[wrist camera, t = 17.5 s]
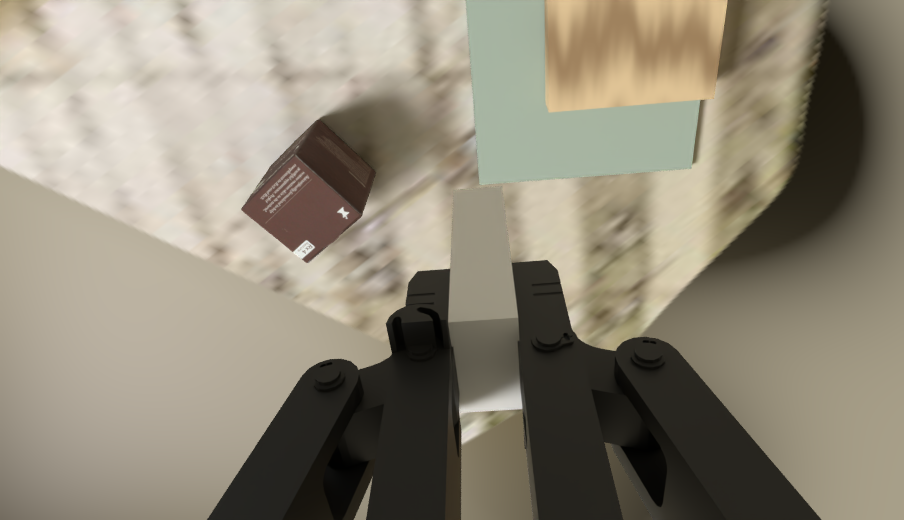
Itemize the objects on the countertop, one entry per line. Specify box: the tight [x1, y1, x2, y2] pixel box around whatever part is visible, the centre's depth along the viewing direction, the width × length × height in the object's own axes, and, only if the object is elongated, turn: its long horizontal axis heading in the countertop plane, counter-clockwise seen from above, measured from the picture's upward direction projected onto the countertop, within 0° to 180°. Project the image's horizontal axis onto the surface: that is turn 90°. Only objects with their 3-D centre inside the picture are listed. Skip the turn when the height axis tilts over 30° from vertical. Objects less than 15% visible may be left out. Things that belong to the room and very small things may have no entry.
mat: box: [466, 0, 700, 185], centre depth 40 cm, size 20×16×1 cm
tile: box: [544, 0, 728, 113], centre depth 39 cm, size 8×2×11 cm
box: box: [241, 120, 376, 263], centre depth 43 cm, size 6×6×7 cm
